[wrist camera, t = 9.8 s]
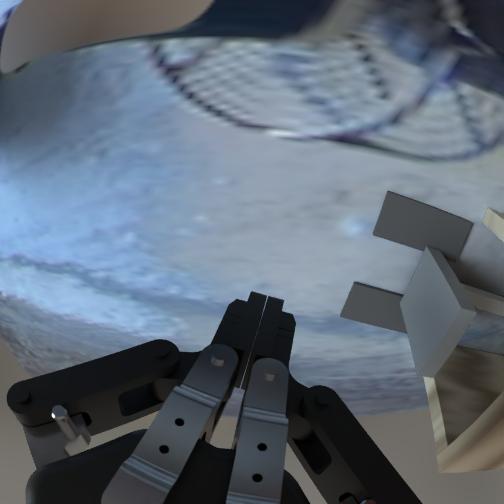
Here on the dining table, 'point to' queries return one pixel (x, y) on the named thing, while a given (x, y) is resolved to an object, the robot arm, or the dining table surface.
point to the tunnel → (469, 401)
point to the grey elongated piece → (440, 311)
